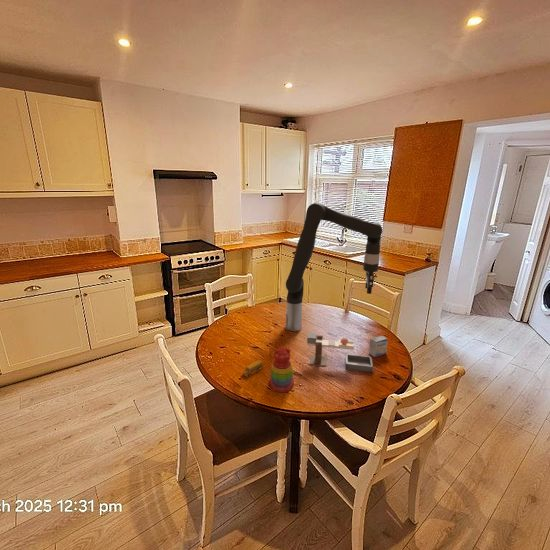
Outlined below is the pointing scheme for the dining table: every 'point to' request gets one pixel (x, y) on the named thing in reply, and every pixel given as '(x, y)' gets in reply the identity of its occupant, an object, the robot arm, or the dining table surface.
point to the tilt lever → (328, 342)
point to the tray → (359, 363)
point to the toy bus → (252, 368)
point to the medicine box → (378, 346)
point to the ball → (344, 341)
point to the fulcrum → (318, 355)
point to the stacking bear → (281, 371)
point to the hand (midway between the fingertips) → (368, 290)
